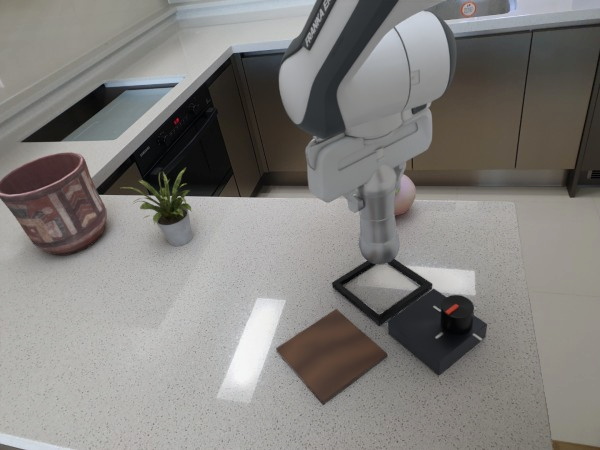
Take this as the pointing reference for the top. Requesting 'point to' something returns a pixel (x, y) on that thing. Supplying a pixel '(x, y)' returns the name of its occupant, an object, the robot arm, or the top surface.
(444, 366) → the panel
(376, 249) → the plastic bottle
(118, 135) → the top surface
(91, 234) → the pottery
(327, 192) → the robot arm
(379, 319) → the black flat square frame
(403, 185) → the decorative fruit
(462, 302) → the knob
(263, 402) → the top surface
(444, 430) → the top surface
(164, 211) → the house plant
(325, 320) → the trivet
